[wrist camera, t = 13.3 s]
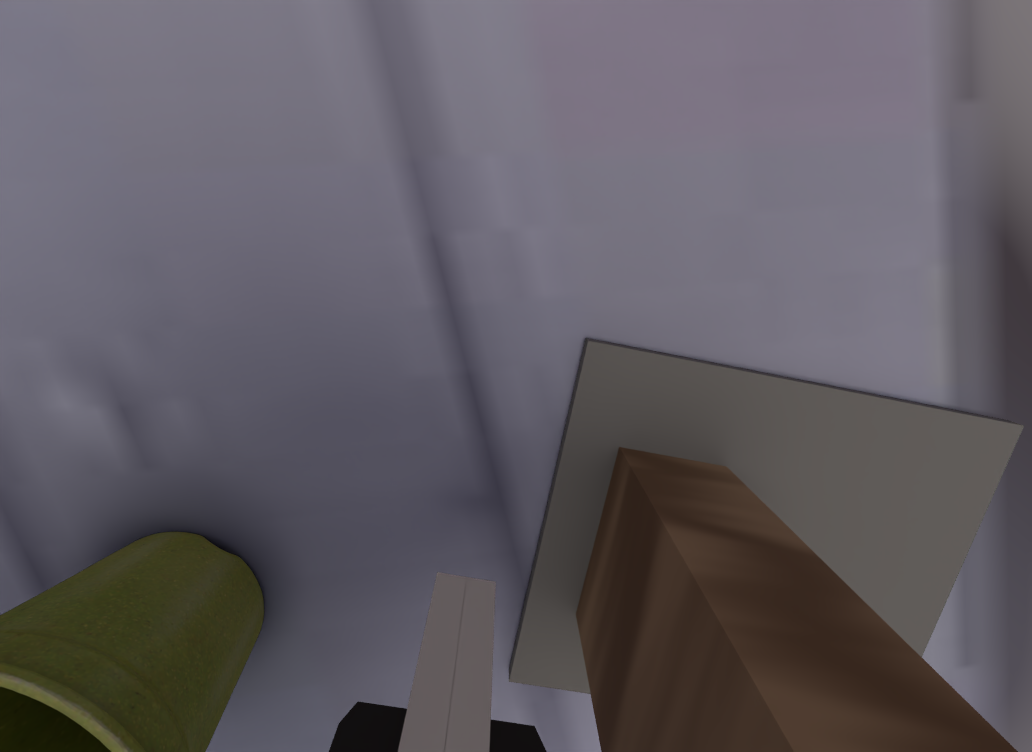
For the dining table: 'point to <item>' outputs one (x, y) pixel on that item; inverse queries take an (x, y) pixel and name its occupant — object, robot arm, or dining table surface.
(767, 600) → the walnut block
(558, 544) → the rubber mat
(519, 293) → the dining table surface
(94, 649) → the plant pot
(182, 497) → the dining table surface
